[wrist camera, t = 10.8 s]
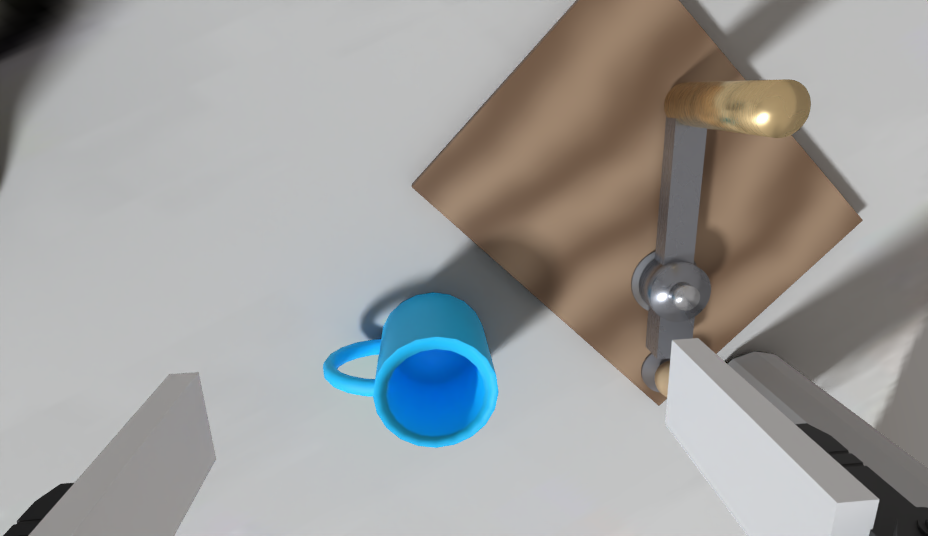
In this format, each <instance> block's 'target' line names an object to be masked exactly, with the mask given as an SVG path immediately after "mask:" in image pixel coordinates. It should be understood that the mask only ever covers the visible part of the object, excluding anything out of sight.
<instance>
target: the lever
mask: <svg viewBox="0 0 928 536" xmlns="http://www.w3.org/2000/svg"><path fill="white" fill-rule="evenodd" d="M810 106H811V101H810V96H809V93H808V91H807V89H806V88H805V87H804V86H803V85H802V84H801V83H799V82H797V81H795V80H753V81H715V82H683V83H680V84H677V85H675V86H674V87H673V88H672V89H671V90H670V91H669V92H668V94H667V95H666V98H665V101H664V111H665V114H666V123H665V136H664V149H663V161H662V174H661V187H660V199H659V212H658V225H657V237H656V250H655V260H653V261H652V262H650V263H649V264H648V265H647V266H646V267H645V269H644V270H643V272H642V274H641V276H640V279H639V293H640V296H641V298H642V299H643V301H644V302H645V303H646V304H647V305H648V306H649V307H648V320H647V333H646V348H647V349H648V350H649V351H650V352H651V353H652V354H653V355H654V357H655V358H656V359H667V358H671V346H672V340H677V339H692V338H693V329H694V320H695V316H697V315H698V314H699V313H700V312H701V311H702V310H703V309H704V308H705V306H706V305H707V303H708V301H709V298H710V294H711V284H710V280H709V278H708V276H707V274H706V273H705V272H704V271H703V270H702V269H700V268H699V267H697V266H695V265H694V254H695V244H696V234H697V224H698V214H699V204H700V194H701V184H702V174H703V164H704V155H705V145H706V135H707V129H713V130H721V131H728V132H735V133H743V134H750V135H757V136H765V137H772V138H784V137H787V136H790V135H792V134H794V133H795V132H797V131H798V130H799V129H800V128H801V127H802V126H803V124H804V123H805V121H806V120H807V118H808V115H809V112H810Z"/></svg>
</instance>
